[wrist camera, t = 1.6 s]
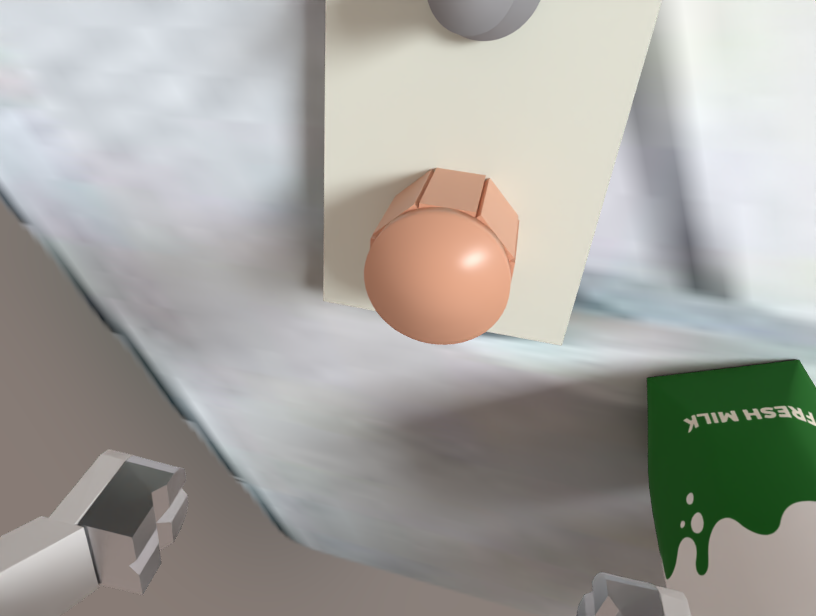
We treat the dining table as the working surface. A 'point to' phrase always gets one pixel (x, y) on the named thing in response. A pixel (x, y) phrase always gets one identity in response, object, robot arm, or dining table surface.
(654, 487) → the milk carton
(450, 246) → the cap
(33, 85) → the dining table surface
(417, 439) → the dining table surface
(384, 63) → the post board
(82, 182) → the dining table surface
